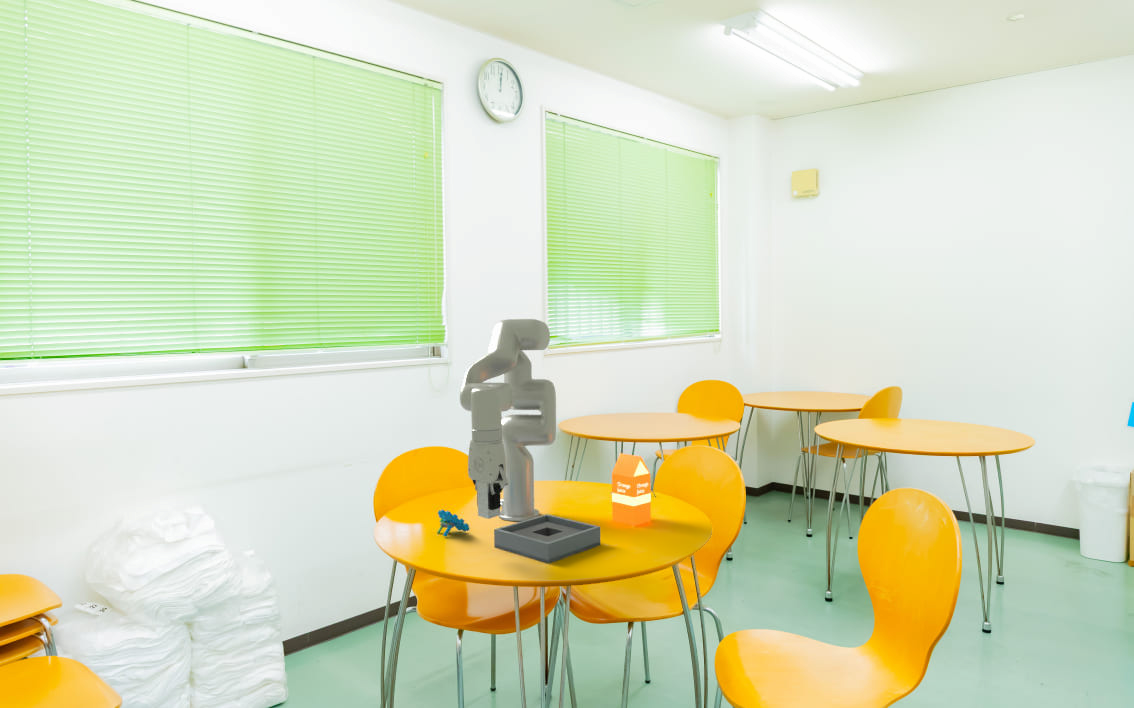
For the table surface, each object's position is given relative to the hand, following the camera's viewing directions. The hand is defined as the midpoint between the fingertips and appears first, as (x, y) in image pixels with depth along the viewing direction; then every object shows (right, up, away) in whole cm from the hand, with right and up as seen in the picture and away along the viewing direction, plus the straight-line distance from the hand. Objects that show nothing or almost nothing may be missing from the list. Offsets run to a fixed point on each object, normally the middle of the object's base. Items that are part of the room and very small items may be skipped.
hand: (488, 506), depth 180 cm
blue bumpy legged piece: (-10, -13, +22) cm, 28 cm away
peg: (0, -2, 0) cm, 2 cm away
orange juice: (+39, -12, +33) cm, 53 cm away
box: (+15, -13, +10) cm, 22 cm away
